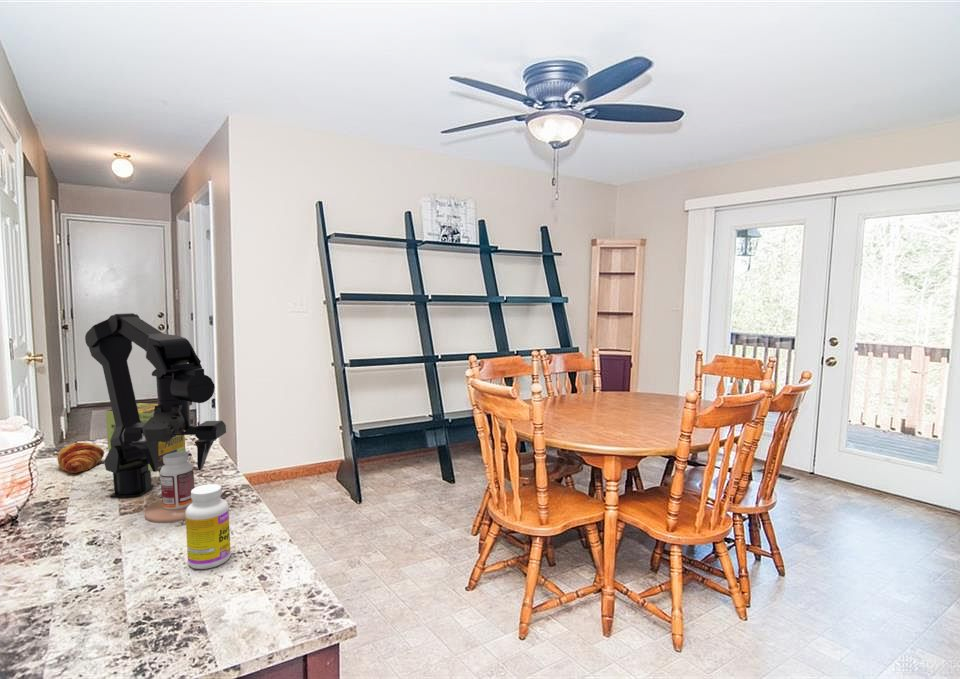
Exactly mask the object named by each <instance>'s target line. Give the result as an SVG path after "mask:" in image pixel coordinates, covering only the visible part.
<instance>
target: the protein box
mask: <svg viewBox="0 0 960 679" xmlns="http://www.w3.org/2000/svg"><path fill="white" fill-rule="evenodd" d="M156 405H158V403H144V402H143V403H142V402H139V403H137V408H138V412H139V417H140V421H141V422H147V421H148V420H149V419H150V418H152V417H153V416H154V409H155V406H156ZM105 421H106V434H107V435H106V436H107V448H108V449H107V450H108V452H107V454H108V453H109V451H110V449H111V443H110V440H111V437H112V435H113V433H114V430H115V428H116V425H115V420H114V416H113V411H112V408H111V409H107V410H105ZM183 431H185V430H183ZM158 447H159V465H158V471H160V470H161V468H162V467H163V466H164V465H165V464H164V462H163V456H164V455H166V454H169V453H174V452H187V451H186V450H187V449H186V435H173V437H172V439H171V440H170V441H168V442H161V441H158ZM148 469H149V470H150V471H151V472H153V470H152V468H151V466H150V464H148Z"/></svg>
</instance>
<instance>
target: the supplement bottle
mask: <svg viewBox="0 0 960 679" xmlns="http://www.w3.org/2000/svg"><path fill="white" fill-rule="evenodd" d="M222 493H223V492H222V485H220V484H216V483H215V484H214V483H210V484H203V485H200V486H195V488H194V489H192V490H191V499H192V501H193V503H192V504H190V505H189V506H188V507H187V509H186V512H185V517H186V520H185V529H186V530H185V531H186V533H185V534H186V550H187V563H188V566H190V567H191V568H193V569H197V570H204V569H205V570H206V569H211V568H216V567H218V566H221V565H222V564H224V563H225V562H227V561H228V560H229V558H230V557H231V554H232V553H231V552H232V551H231V533H230V532H231V531H230V513H229V512H230V511H229V503H228V502H227V501H226V499H224V498H221V496H222Z"/></svg>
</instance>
